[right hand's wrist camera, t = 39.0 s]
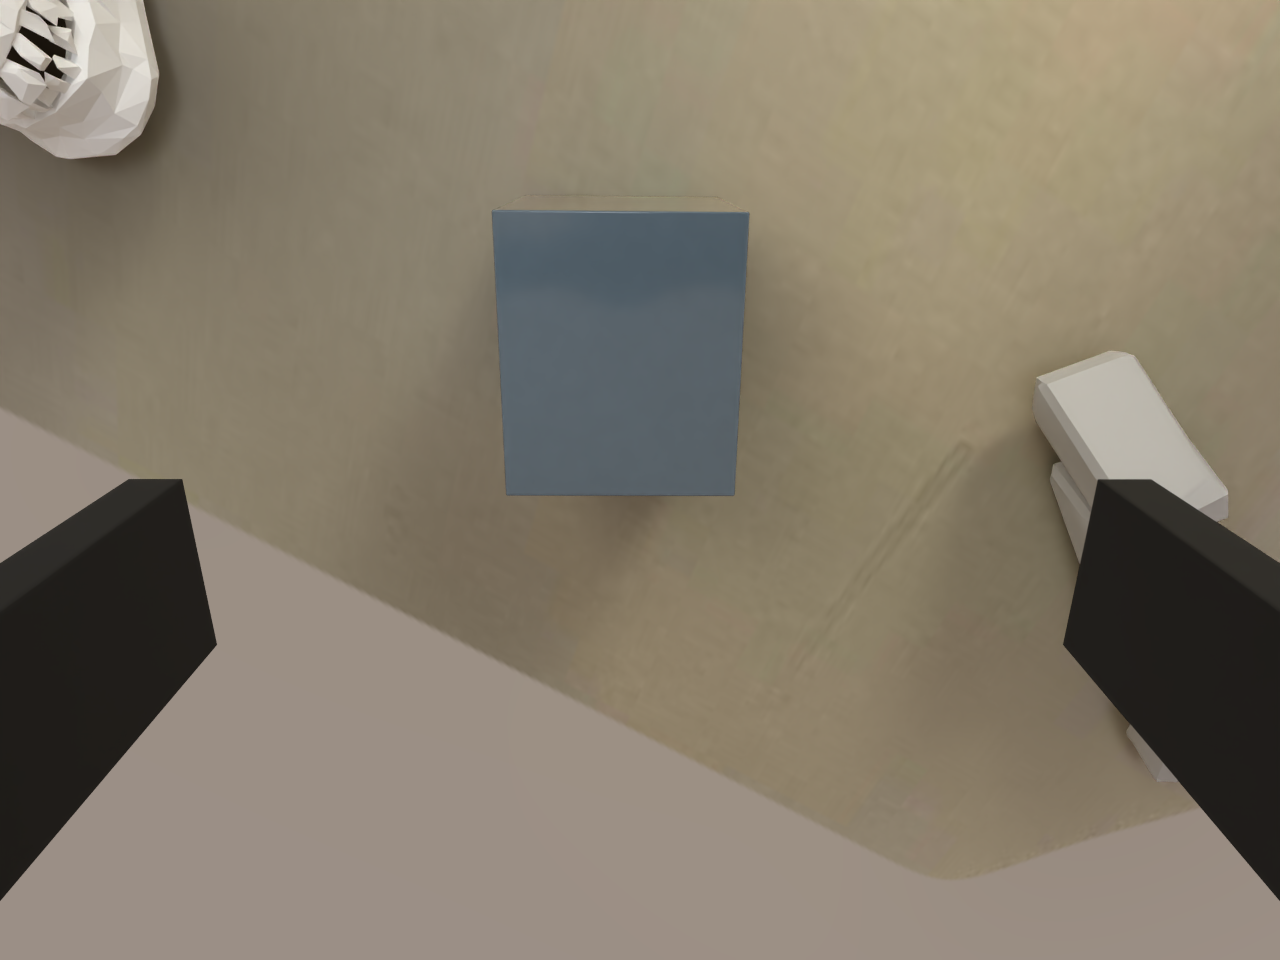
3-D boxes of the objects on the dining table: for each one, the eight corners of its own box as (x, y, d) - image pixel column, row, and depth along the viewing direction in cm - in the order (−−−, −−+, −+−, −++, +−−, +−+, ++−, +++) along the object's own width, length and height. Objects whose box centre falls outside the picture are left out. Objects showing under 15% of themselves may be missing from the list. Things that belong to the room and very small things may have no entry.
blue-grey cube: (709, 418, 34) (734, 496, 26) (532, 417, 34) (505, 496, 26) (718, 196, 31) (749, 212, 23) (524, 195, 31) (491, 210, 23)
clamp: (1012, 372, 33) (1110, 445, 26) (1109, 331, 32) (1231, 395, 26) (1108, 729, 41) (1198, 847, 35) (1186, 701, 41) (1291, 816, 34)
